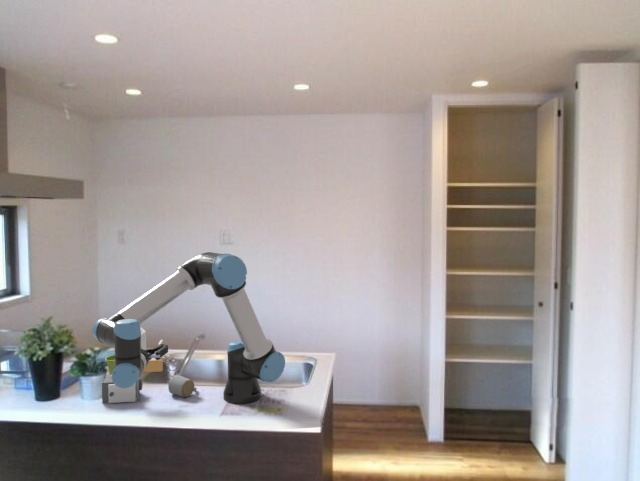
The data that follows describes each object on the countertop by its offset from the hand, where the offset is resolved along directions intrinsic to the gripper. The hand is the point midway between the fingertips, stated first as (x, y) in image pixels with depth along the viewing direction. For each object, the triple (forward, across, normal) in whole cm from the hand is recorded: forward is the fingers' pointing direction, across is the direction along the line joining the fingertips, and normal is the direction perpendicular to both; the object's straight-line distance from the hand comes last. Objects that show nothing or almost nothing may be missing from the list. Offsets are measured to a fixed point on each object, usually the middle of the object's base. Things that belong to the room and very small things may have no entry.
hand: (147, 343), depth 185 cm
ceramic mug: (+18, +11, -26) cm, 34 cm away
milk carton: (+63, -17, -26) cm, 71 cm away
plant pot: (+44, -22, -26) cm, 56 cm away
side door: (+11, -6, -26) cm, 29 cm away
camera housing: (+17, -14, -26) cm, 34 cm away
